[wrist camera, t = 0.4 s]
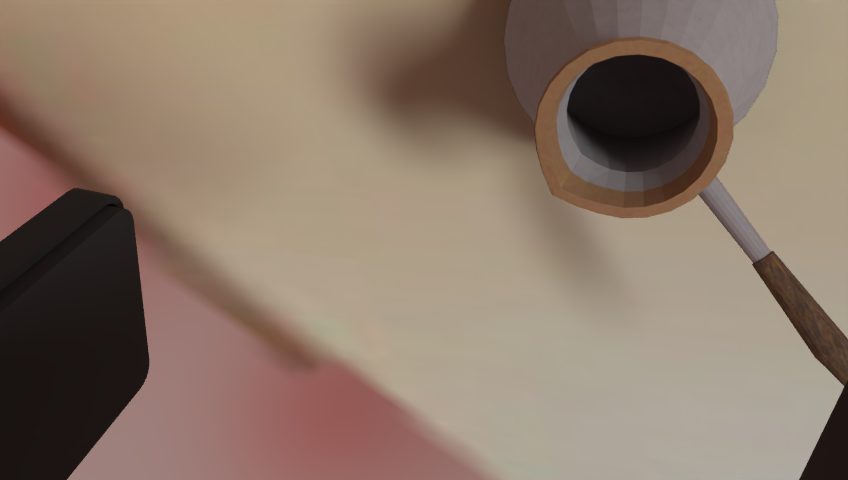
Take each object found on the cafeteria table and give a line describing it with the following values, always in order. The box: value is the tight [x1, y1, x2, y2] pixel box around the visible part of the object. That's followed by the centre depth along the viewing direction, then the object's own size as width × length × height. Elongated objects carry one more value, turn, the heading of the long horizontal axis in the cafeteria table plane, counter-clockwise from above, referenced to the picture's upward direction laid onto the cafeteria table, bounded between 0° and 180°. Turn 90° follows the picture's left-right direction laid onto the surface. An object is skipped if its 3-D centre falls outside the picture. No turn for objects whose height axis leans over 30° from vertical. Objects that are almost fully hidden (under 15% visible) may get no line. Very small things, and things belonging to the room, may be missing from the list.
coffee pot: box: [504, 0, 848, 386], centre depth 32 cm, size 21×12×15 cm, turn 47°
